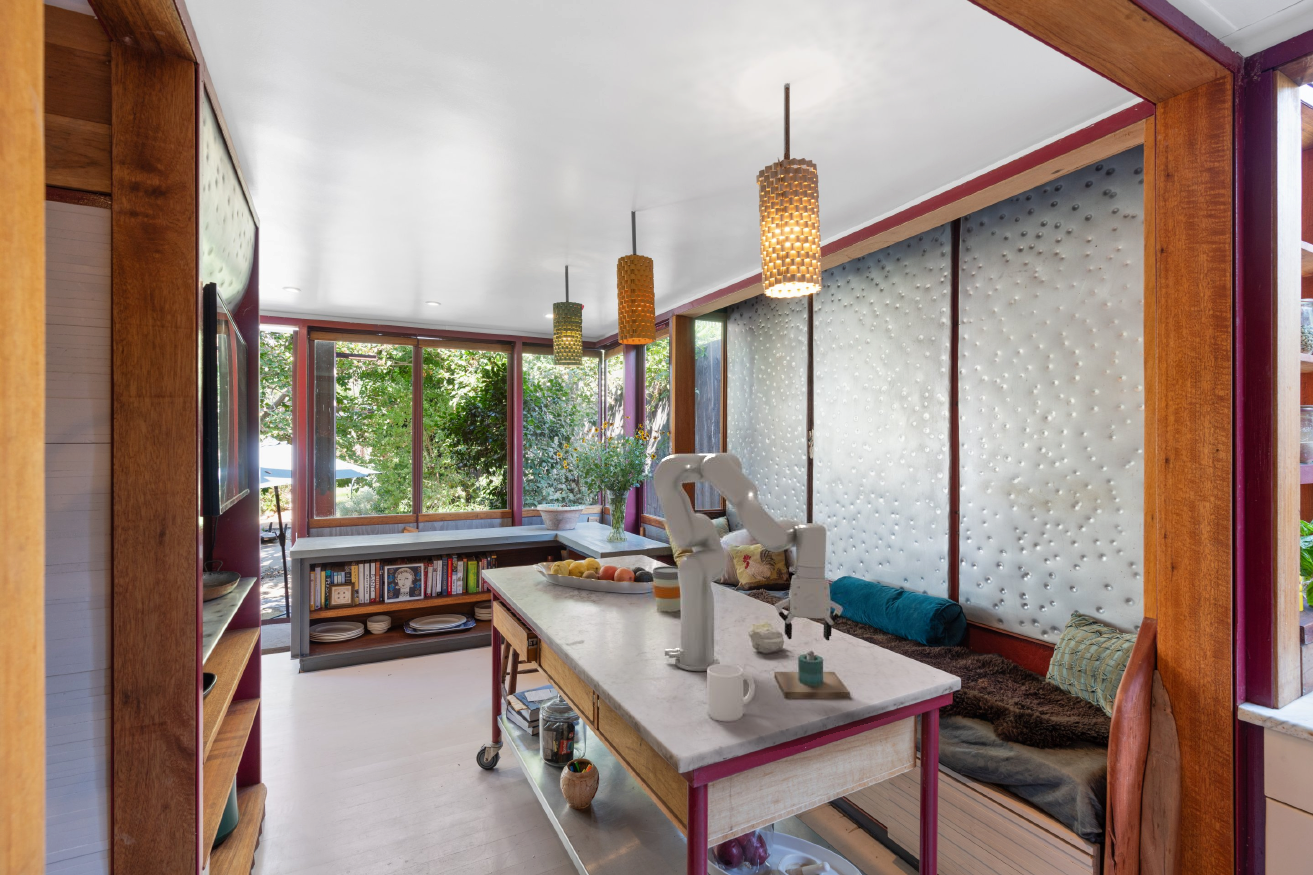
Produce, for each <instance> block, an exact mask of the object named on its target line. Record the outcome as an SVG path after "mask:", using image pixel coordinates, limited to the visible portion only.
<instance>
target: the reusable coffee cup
mask: <svg viewBox="0 0 1313 875" xmlns="http://www.w3.org/2000/svg"><path fill="white" fill-rule="evenodd" d="M651 576H652V578H653V579H652V580H653V583H652V588H653V596H654V597H655V604H656V610H658V611H659V610H660V612H663V611H668V612H667V613H672V612H671V611H675V612H678V610H679V611H681V597H680V585H679V580H678V566H673V565H670V566H669V565H668V566H667V565H666V566H663V565H662V566H657V567H653V569H652V575H651Z"/></svg>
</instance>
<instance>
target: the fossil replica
mask: <svg viewBox="0 0 1313 875" xmlns="http://www.w3.org/2000/svg"><path fill="white" fill-rule="evenodd" d="M747 633H748V636H749V637H750V642H751V646H752V648H753V650H755V651H758V652H760V653H762V654H770V653H771V654H772V653H774V652H780V651H781V650H782V649H783V647H784V646H785V645H784V644H785V640H784V634H783V633H782V632H781V631H779V630H778V629H777V628H776V627H775V626H774V625H773V624H772V623H771V622H768V621H767V622H759V623H754V624H752V625H750V627H749V630H748V632H747Z"/></svg>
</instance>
